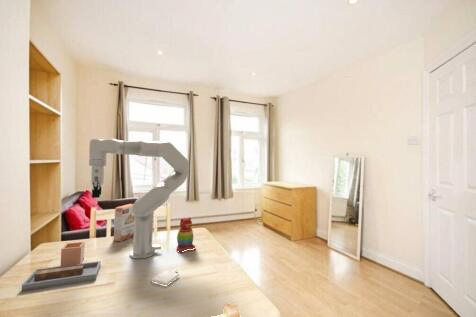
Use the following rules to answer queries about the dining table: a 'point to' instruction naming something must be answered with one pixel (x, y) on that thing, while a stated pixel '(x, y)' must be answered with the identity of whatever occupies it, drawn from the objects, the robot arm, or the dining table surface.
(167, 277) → the perfume bottle
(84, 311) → the dining table surface
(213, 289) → the dining table surface
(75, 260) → the square clay planter
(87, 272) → the grey tray
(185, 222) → the stacking bear
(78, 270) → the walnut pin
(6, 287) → the dining table surface
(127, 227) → the cracker box
